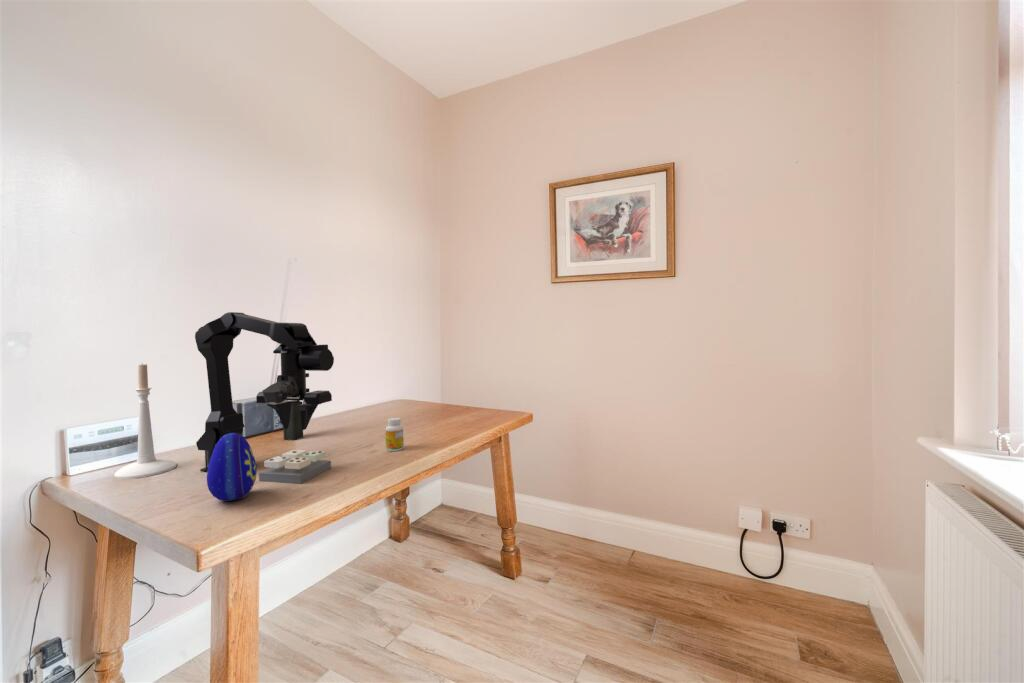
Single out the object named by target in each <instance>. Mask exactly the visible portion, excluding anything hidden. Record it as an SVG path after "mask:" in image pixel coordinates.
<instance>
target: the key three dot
mask: <svg viewBox="0 0 1024 683" xmlns="http://www.w3.org/2000/svg"><path fill="white" fill-rule="evenodd" d="M301 458H311V461H313V462H316V461H318V460H323V459H324V458H326V451H324V450H311V451H308V452H306V454H303V455H301Z"/></svg>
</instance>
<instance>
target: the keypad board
mask: <svg viewBox="0 0 1024 683" xmlns="http://www.w3.org/2000/svg"><path fill="white" fill-rule="evenodd" d="M330 469H332V461H331V460H327V459H325V460H324V459H320V460H318V461H316V462H313V461H311V464H309V465H307V466H305V467H303V468H301V469H288V468H285V465H284V466H282V467H280V468H272V467H269V468H267V469H265V470H263V471H261V472H258V481H259V482H271V483H281V484H282V483H285V484H298V485H299V484H303V483H304V482H306V481H308V480H310V479H313V478H314V477H316V476H318V475H320V474H322V473H324V472H326V471H327V470H330Z"/></svg>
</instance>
